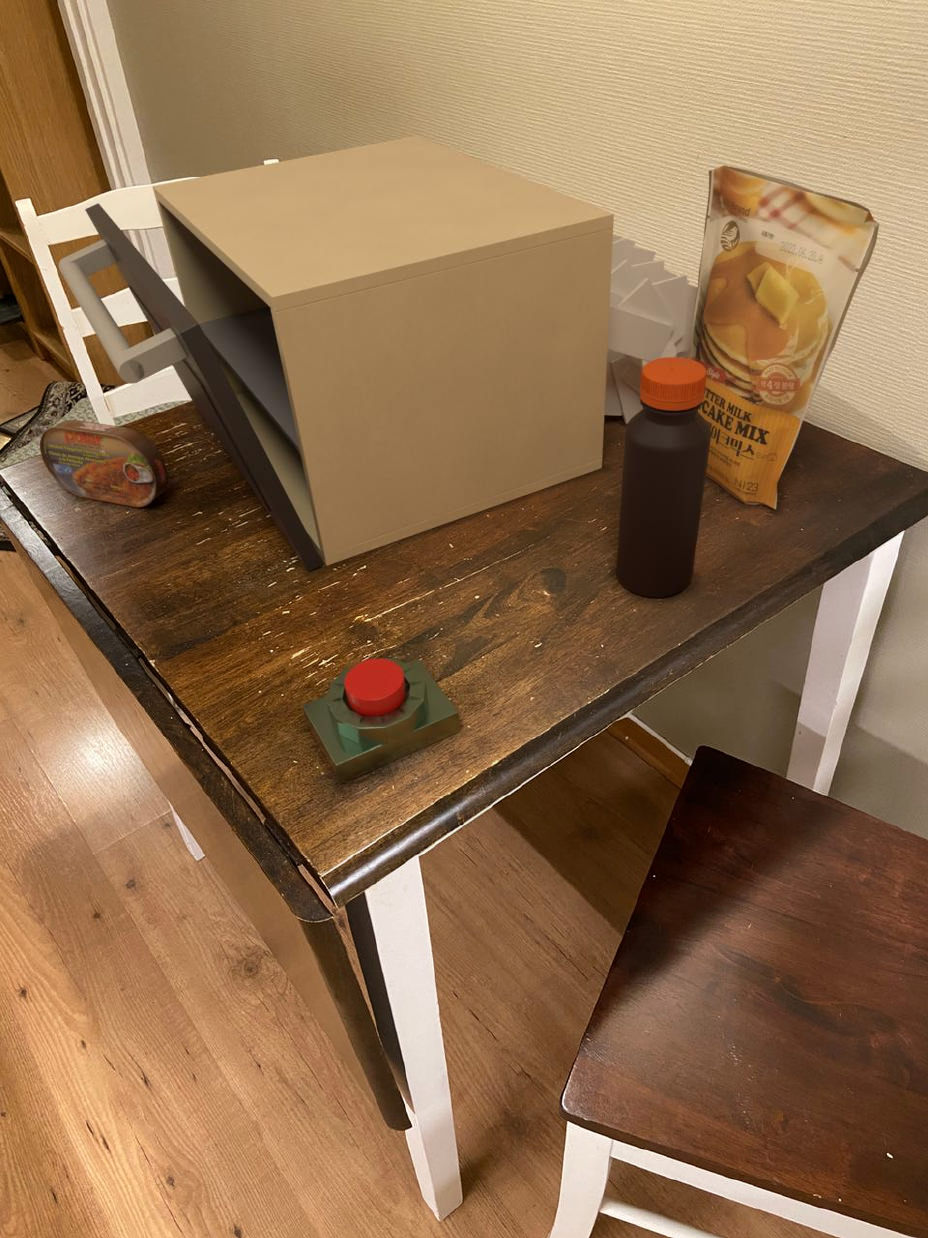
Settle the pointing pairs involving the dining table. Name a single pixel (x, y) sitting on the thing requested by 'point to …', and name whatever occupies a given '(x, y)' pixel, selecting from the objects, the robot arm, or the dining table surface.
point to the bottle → (663, 479)
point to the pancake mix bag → (769, 316)
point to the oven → (400, 330)
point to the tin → (104, 462)
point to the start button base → (380, 724)
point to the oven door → (179, 364)
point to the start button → (375, 687)
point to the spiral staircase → (643, 322)
